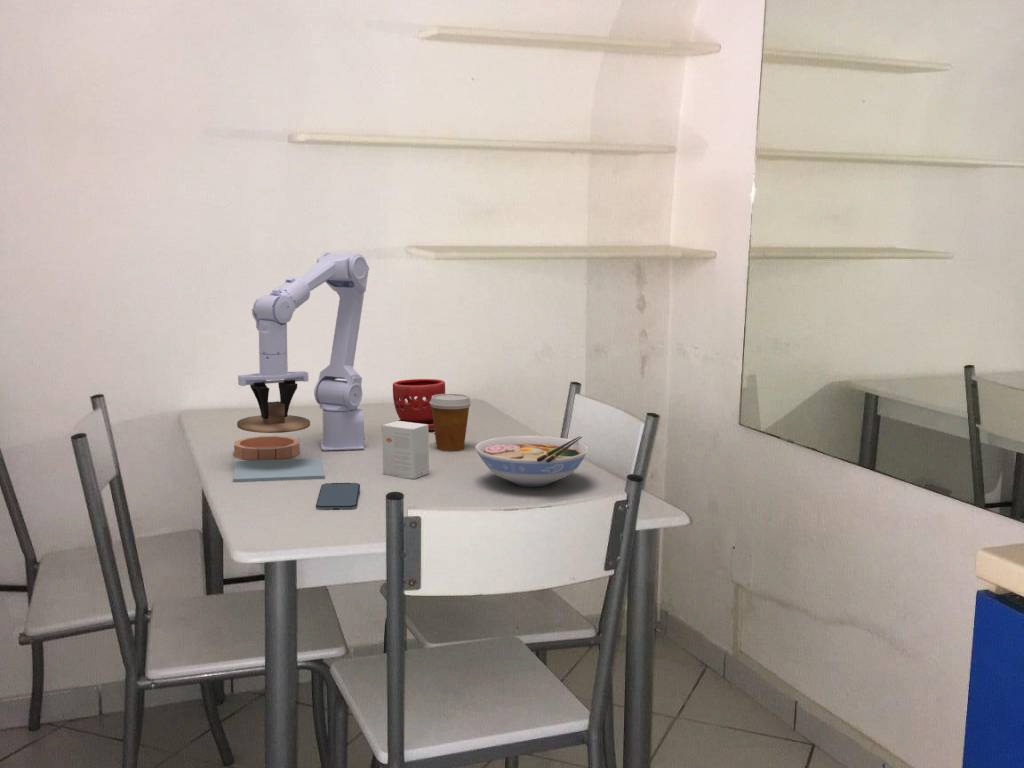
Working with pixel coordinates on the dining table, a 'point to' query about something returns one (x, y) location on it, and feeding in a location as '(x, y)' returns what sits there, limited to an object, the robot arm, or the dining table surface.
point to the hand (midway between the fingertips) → (274, 417)
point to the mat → (278, 469)
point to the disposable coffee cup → (450, 420)
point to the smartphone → (338, 496)
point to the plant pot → (417, 407)
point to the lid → (274, 421)
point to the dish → (266, 448)
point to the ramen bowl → (532, 458)
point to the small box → (405, 449)
